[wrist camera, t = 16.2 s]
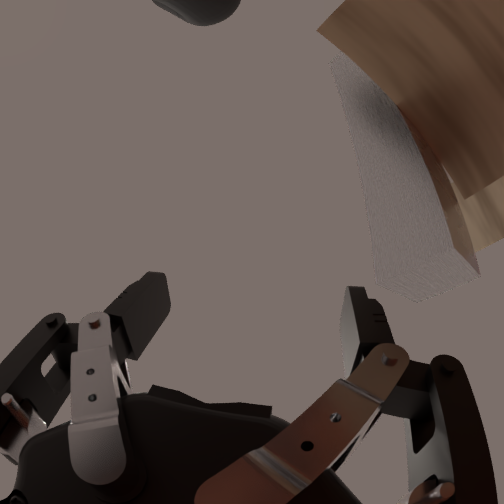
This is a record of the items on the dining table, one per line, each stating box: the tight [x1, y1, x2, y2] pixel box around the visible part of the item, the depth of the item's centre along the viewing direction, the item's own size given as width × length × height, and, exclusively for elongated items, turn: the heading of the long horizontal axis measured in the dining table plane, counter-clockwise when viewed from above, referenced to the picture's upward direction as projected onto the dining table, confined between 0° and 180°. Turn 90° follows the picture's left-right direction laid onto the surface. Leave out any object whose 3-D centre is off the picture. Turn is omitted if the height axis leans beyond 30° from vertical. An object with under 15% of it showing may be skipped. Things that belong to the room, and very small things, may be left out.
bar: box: [329, 51, 481, 303], centre depth 17 cm, size 24×4×4 cm, turn 8°
